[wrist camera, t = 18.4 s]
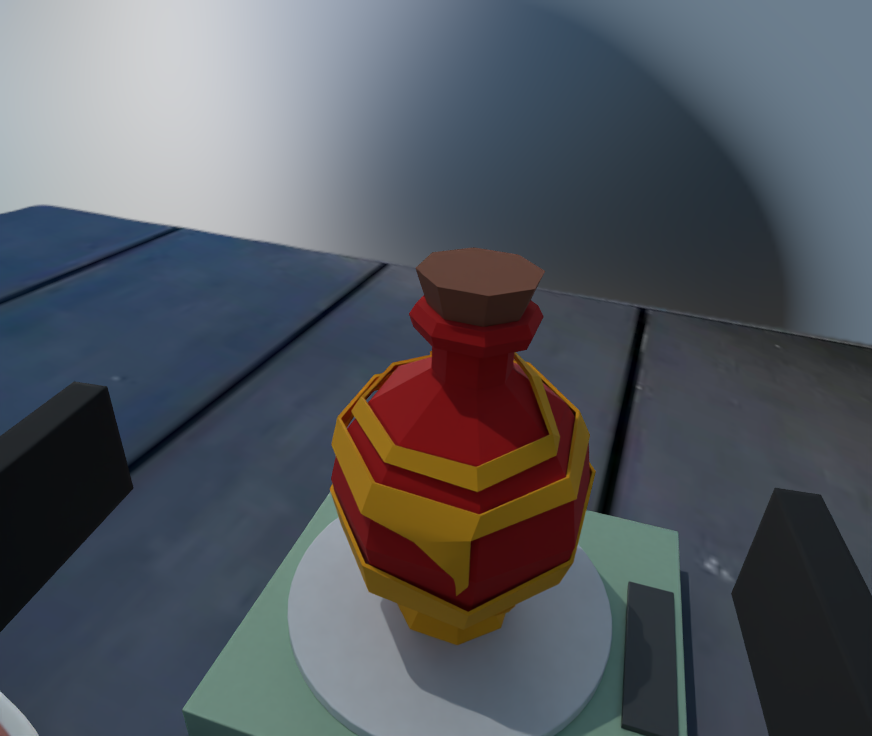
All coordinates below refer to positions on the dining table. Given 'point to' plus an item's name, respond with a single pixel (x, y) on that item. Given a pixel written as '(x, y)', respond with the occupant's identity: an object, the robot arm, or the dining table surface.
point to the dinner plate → (13, 720)
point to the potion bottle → (464, 457)
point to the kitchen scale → (457, 651)
